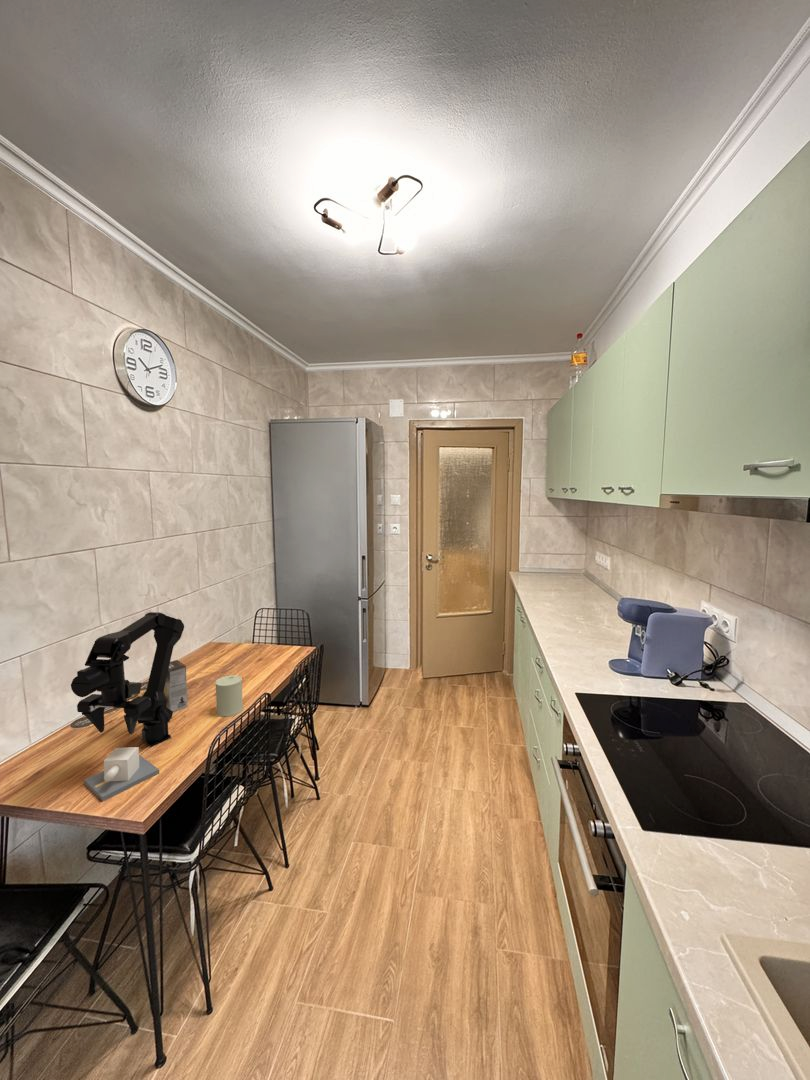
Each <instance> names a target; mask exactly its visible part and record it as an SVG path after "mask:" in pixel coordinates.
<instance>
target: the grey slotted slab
mask: <svg viewBox="0 0 810 1080" xmlns="http://www.w3.org/2000/svg"><path fill="white" fill-rule="evenodd" d="M159 774H160V769H159V768H158V767H156V766H155V765H154V764H152V763H151V762H150V761H148V759H146V758H144V757H143V756H142V755H140V754H139V768H138V769H137V771H136V772H135V773H134V774H133V775H132V777H131V778H130V779H129V780H128V781H109V782H105V780H104V770H103V771H101V772H99V773H98V772H97V773H95V774H94V775H92V776H89V777H87V778H85V779H84V781H83V783H84V785H85V786H87V788H88V789H90V791H91V792H93V794H94V795H96V797H97V798H98V799H100V800H101V802H105V801H106V800H108V799H111V798H112V797H114V796H116V795H119V794H121V793H123V792H124V791H127V790H128V789H131V788H133V787H135V786H136V785H138V784H140V783H142V782H145V781H147V780H149V779H151V778H152V777H155V776H158V775H159Z"/></svg>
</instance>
